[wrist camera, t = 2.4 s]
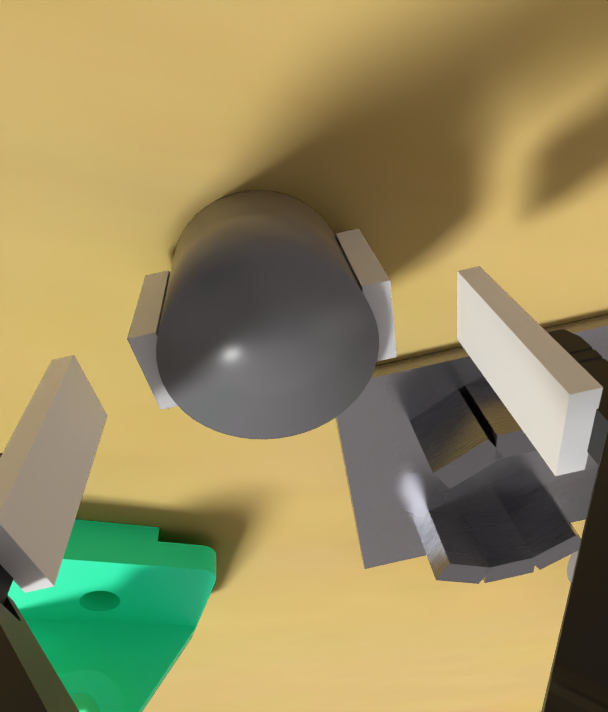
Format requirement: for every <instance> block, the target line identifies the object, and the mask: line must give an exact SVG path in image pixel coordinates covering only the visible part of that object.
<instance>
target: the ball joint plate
mask: <svg viewBox="0 0 608 712" xmlns="http://www.w3.org/2000/svg"><path fill="white" fill-rule="evenodd" d="M560 329H565V330H567V331H569V332H571V333H573V334H576V335H578V336H580V337H581V338H583V339H584V340H585V341H586V342H587V343H588V344H589V345H590V346H591V347H592V349H593V350H596V351H597V352H598V353H599V354H600V355H601V356H602V358H605V359H606V360H607V361H608V315H603V316H599V317H594V318H590V319H585V320H581V321H576V322H572V323H568V324H563V325H559V326H554V327H550V328H545V329H544V330H545V331H546V332H551V331H555V330H560ZM336 422H337V427H338V433H339V438H340V443H341V448H342V454H343V459H344V464H345V470H346V475H347V480H348V486H349V491H350V496H351V502H352V507H353V512H354V517H355V523H356V528H357V533H358V539H359V544H360V549H361V555H362V559H363V563H364V567H365V569H367V568H371V567H376V566H380V565H384V564H389V563H393V562H398V561H402V560H407V559H411V558H416V557H420V556H424V555H427V557H428V560H429V562H430V565H431V568H432V570H433V573H434V576H435V578H436V580H441V581H453V582H465V583H477V584H479V582H480V581H481V580H482V579H483V580H484V582H485V583H487V582H492V581H496V580H501V579H505V578H510V577H514V576H518V575H523V574H527V573H532V572H533V571H534V566H536V567H538V568H539V569H542V568H544V567H546V566H548V565H550V564H552V563H554V562H556V561H558V560H560V559H562V558H564V557H566V556H568V555H570V554H572V553H574V552H576V551H578V550H579V547H580V543H581V538H580V537H579V535H578V534H577V532H576V531H575V529H574V528H573V526H572V525H571V522H575V521H580V520H584V519H586V517H587V512H588V508H589V504H590V499H591V495H592V490H593V486H594V482H595V477H596V473H597V469H598V464H597V463H596V462H595V461H594V459H593V458H592V457H591V456H590V455H589V453H588V457H587V462H586V466H585V470H581V471H577V472H572V473H567V474H563V475H558V476H555V475H554V473H553V472H552V471H551V469H550V468H549V466H548V465H547V464H546V462H545V461H544V459H543V458H542V457H541V455H540V454H539V452H538V451H537V450H536V448H535V447H534V445H533V444H532V443H531V441H530V440H529V439H528V437H527V436H526V434H525V433H524V432H523V430H522V429H521V427H520V426H519V425H518V423H517V422H516V420H515V419H514V418H513V416H512V415H511V413H510V412H509V411H508V409H507V408H506V406H505V405H504V404H503V402H502V401H501V399H500V398H499V397H498V395H497V394H496V392H495V391H494V390H493V388H492V387H491V385H490V384H489V383H488V381H487V380H486V378H485V377H484V376H483V374H482V373H481V371H480V370H479V369H478V367H477V366H476V364H475V363H474V362H473V360H472V359H471V357H470V356H469V355H468V353H467V352H466V350H465V349H464V348H463V347H460V348H455V349H451V350H446V351H442V352H438V353H433V354H429V355H424V356H420V357H415V358H411V359H406V360H402V361H397V362H393V363H388V364H384V365H379V366H375V370H374V372H373V374H372V376H371V379H370V381H369V382H368V384H367V386H366V387H365V389H364V390H363V392H362V393H361V394H360V395H359V397H358V398H357V399H356V400H355V401H354V402H353V403H352V404H351V405H350V406H349V407H348V408H347V409H346V410H345V411H343V412H342V413H341V414H340V415H338V416H337V417H336Z"/></svg>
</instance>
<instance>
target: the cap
mask: <svg viewBox="0 0 608 712" xmlns="http://www.w3.org/2000/svg"><path fill="white" fill-rule="evenodd" d="M127 339H128V342H129V344H130V346H131V348H132V350H133V352H134V354H135V356H136V358H137V361H138V363H139V365H140V367H141V369H142V371H143V373H144V375H145V377H146V380H147V382H148V384H149V386H150V388H151V390H152V392H153V394H154V396H155V399H156V401H157V403H158V405H159V407H160V409H166V408H170V407H175V406H179V407H180V408H181V409H182V410H183V411H184V412H185V413H186V414H187V415H189V416H190V417H191V418H193V419H194V420H196V421H197V422H199V423H201V424H202V425H204V426H206V427H208V428H210V429H213V430H215V431H218V432H221V433H224V434H227V435H231V436H235V437H240V438H248V439H276V438H283V437H289V436H294V435H297V434H301V433H304V432H307V431H310V430H312V429H315V428H317V427H319V426H321V425H323V424H325V423H327V422H329V421H330V420H332V419H334V418H335V417H337V416H338V415H340V414H341V413H342V412H343V411H345V410H346V409H347V408H348V407H349V406H350V405H351V404H352V403H353V402H354V401H355V400H356V399H357V398H358V397H359V395H360V394H361V393H362V392H363V390H364V389H365V387H366V386H367V384H368V382H369V381H370V379H371V376H372V374H373V372H374V370H375V366H376V363H377V361H381V360H386V359H390V358H395V357H397V356H396V344H395V331H394V318H393V306H392V293H391V281H390V279H389V277H388V275H387V274H386V272H385V270H384V269H383V267H382V266H381V264H380V262H379V261H378V259H377V257H376V256H375V254H374V252H373V251H372V249H371V248H370V246H369V244H368V243H367V241H366V239H365V238H364V236H363V234H362V233H361V231H360V230H359V229H354V230H349V231H345V232H340V233H336V236H335V234H334V232H333V230H332V229H331V227H330V226H329V224H328V223H327V222H326V220H325V219H324V218H323V217H322V216H321V215H320V214H319V213H318V212H317V211H315V210H314V209H313V208H312V207H310V206H309V205H307V204H306V203H304V202H302V201H300V200H299V199H296V198H294V197H291V196H289V195H286V194H282V193H278V192H273V191H264V190H256V191H245V192H238V193H235V194H232V195H228V196H225V197H223V198H221V199H219V200H216V201H215V202H213V203H211V204H210V205H208V206H206V207H205V208H204V209H203V210H201V211H200V212H199V213H198V214H197V215H196V216H195V217H194V218H193V219H192V220H191V221H190V222H189V223H188V225H187V226H186V228H185V229H184V231H183V232H182V234H181V236H180V239H179V241H178V243H177V246H176V249H175V252H174V257H173V262H172V267H171V272H169V271H164V272H160V273H155V274H151V275H146V276H145V279H144V283H143V286H142V290H141V293H140V297H139V300H138V303H137V307H136V310H135V314H134V317H133V321H132V324H131V327H130V331H129V334H128V338H127Z"/></svg>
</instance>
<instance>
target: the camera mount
mask: <svg viewBox="0 0 608 712" xmlns="http://www.w3.org/2000/svg"><path fill="white" fill-rule="evenodd" d="M159 528H160V527H151V526H140V525H130V524H120V523H109V522H99V521H88V520H78V519H75V521H74V525H73V528H72V531H71V534H70V537H69V541H68V544H67V547H66V550H65V553H64V557H63V560H62V563H61V566H60V569H59V573H58V576H57V579H56V582H55V585H54V586H53V587H48V588H44V589H39V590H35V591H30V592H26V593H25V592H24V591H23V590H22V589H21V588H20V587H19V586H18V585H17V584H16V583H15V582H14V581H13V582H12V584H11V587H10V590H9V592H8V596H9V597H10V598H11V599H12V600H13V601H14V602H15V604H16V606H17V607H18V609H19V611H20V612H21V614H22V616H23V617H24V619H25V621H26V623H27V624H28V626H29V628H30V629H31V631H32V633H33V634H34V636H35V638H36V639H37V641H38V643H39V644H40V646H41V648H42V649H43V651H44V653H45V655H46V656H47V658H48V660H49V661H50V663H51V665H52V666H53V668H54V670H55V671H56V673H57V675H58V676H59V678H60V680H61V681H62V683H63V685H64V687H65V688H66V690H67V692H68V693H69V695H70V697H71V698H72V700H73V702H74V703H75V705H76V707H77V708H78V710H79V712H142V711H143V710H144V708H145V707H146V705H147V704H148V702H149V701H150V699H151V698H152V696H153V695H154V693H155V692H156V690H157V689H158V687H159V686H160V684H161V683H162V681H163V680H164V678H165V677H166V675H167V674H168V672H169V671H170V669H171V668H172V666H173V665H174V663H175V662H176V661H177V659H178V658H179V656H180V655H181V653H182V652H183V650H184V649H185V647H186V646H187V644H188V643H189V641H190V640H191V638H192V636H193V633H194V631H195V629H196V626H197V624H198V622H199V619H200V617H201V615H202V612H203V610H204V608H205V605H206V603H207V601H208V598H209V596H210V594H211V591H212V589H213V587H214V584H215V582H216V552H215V550H214V549H212V548H210V547H208V546H204V545H193V544H182V543H171V542H160V541H158V536H159Z"/></svg>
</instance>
